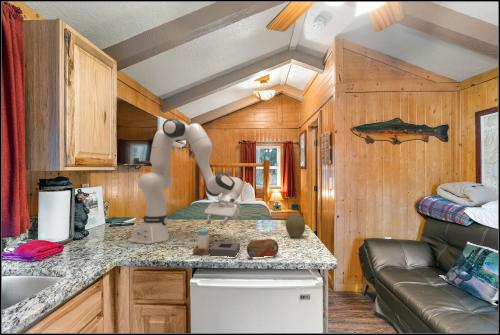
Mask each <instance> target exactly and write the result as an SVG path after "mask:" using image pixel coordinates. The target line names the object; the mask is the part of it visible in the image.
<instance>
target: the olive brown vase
mask: <svg viewBox="0 0 500 335" xmlns="http://www.w3.org/2000/svg"><path fill="white" fill-rule="evenodd" d="M285 229H286V232H287V234H288V235H289V236H290V237H292V238H295V239H297V238H298V239H299V238H300V237H302V236H303V234H304V233H305V230H306V223H305V219H304V217H303V216H302V214H301V213H299V212H297V211H296V212H291V213H290V214H289V215H288V216H287V218H286V221H285Z"/></svg>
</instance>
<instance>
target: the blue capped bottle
mask: <svg viewBox="0 0 500 335" xmlns="http://www.w3.org/2000/svg"><path fill="white" fill-rule="evenodd" d="M197 233H198V234H197V245H198V248H199V249H208V248H209V245H210V242H209V241H210V240H209V236H210V230H209V229H206V228H205V229H203V228H202V229H199V230H197Z"/></svg>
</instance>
